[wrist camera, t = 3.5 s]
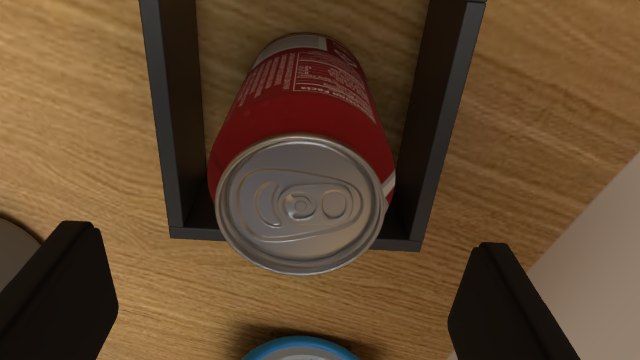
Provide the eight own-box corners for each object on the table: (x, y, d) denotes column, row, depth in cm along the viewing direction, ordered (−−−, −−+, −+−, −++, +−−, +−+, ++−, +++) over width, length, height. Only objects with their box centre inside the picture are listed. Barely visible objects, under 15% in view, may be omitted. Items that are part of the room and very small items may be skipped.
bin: (452, -31, 20) (493, -20, 16) (402, 198, 27) (420, 252, 23) (174, -56, 20) (130, -53, 15) (195, 185, 27) (169, 238, 22)
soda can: (240, 31, 22) (174, 117, 12) (368, 28, 22) (415, 113, 12) (253, 146, 25) (211, 291, 15) (363, 143, 25) (396, 287, 15)
